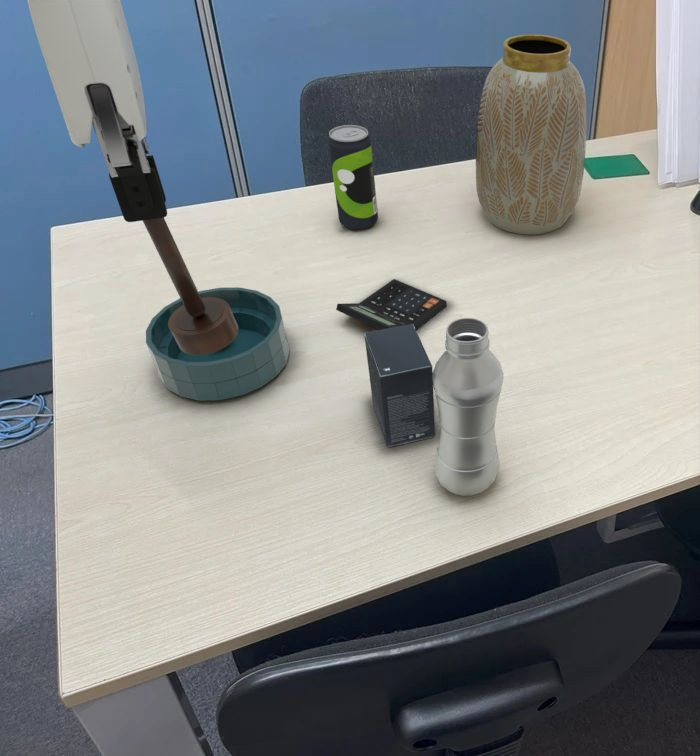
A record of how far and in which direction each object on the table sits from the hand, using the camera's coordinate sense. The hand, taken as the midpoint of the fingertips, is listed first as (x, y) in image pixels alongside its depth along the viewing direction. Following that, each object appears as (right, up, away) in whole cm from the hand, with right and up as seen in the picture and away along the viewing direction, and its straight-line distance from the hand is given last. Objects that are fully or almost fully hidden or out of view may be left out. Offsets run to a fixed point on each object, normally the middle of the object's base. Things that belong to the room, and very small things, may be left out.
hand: (146, 210), depth 57 cm
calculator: (+14, -5, +38) cm, 41 cm away
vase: (+33, +13, +60) cm, 70 cm away
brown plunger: (+1, -10, +9) cm, 14 cm away
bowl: (-5, -12, +30) cm, 32 cm away
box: (+18, -19, +23) cm, 35 cm away
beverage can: (+6, +11, +57) cm, 58 cm away
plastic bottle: (+25, -25, +17) cm, 39 cm away
